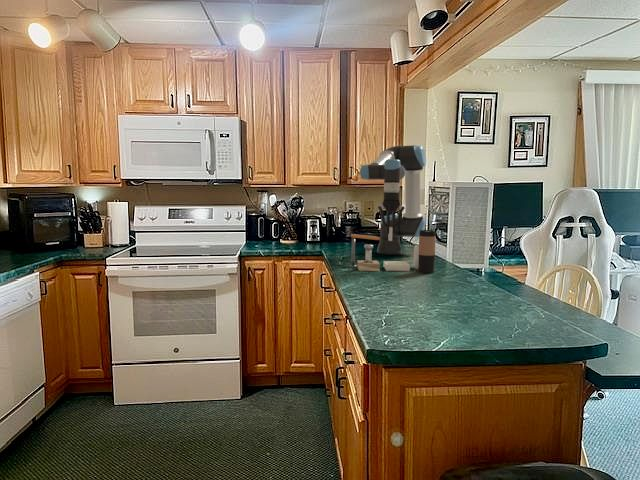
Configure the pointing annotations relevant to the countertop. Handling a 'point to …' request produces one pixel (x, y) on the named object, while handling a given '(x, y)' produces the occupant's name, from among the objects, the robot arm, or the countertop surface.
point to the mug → (416, 256)
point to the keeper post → (353, 254)
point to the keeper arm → (365, 237)
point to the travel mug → (426, 251)
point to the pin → (368, 253)
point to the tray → (396, 266)
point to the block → (368, 265)
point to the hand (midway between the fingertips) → (390, 240)
